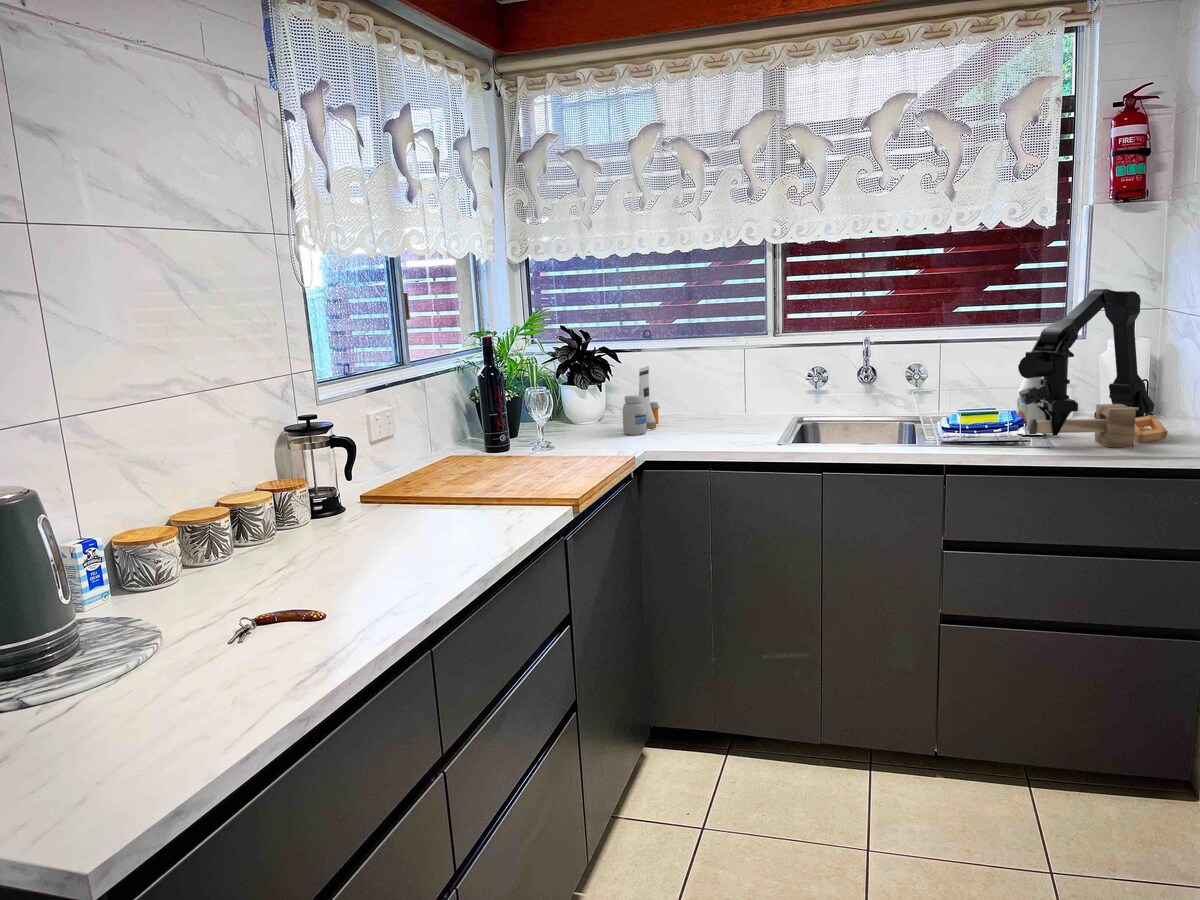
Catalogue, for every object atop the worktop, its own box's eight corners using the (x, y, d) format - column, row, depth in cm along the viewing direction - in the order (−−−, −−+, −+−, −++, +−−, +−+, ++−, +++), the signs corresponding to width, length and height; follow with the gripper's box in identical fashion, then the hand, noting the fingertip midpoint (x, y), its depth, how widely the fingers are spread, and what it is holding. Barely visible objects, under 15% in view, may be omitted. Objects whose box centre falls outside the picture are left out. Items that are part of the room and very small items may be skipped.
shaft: (1027, 433, 244) (1028, 418, 243) (1121, 431, 240) (1122, 416, 239) (1032, 435, 240) (1032, 420, 239) (1127, 433, 236) (1128, 418, 235)
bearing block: (1094, 441, 244) (1096, 404, 242) (1118, 441, 243) (1120, 404, 241) (1108, 448, 234) (1110, 409, 233) (1133, 447, 233) (1135, 409, 231)
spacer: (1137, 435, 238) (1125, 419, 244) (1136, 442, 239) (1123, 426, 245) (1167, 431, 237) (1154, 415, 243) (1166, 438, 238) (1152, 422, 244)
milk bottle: (1045, 432, 261) (1048, 362, 257) (1046, 437, 254) (1049, 365, 250) (1016, 432, 264) (1018, 363, 260) (1015, 436, 257) (1018, 365, 254)
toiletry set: (642, 436, 288) (640, 371, 284) (620, 435, 291) (617, 371, 287) (665, 424, 311) (663, 364, 307) (644, 424, 314) (642, 364, 310)
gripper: (1013, 372, 248) (1011, 429, 251) (1032, 380, 230) (1030, 440, 233) (1056, 371, 247) (1054, 428, 249) (1080, 378, 228) (1077, 439, 231)
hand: (1052, 434), depth 241 cm, fingers closed on shaft, 3 cm apart
